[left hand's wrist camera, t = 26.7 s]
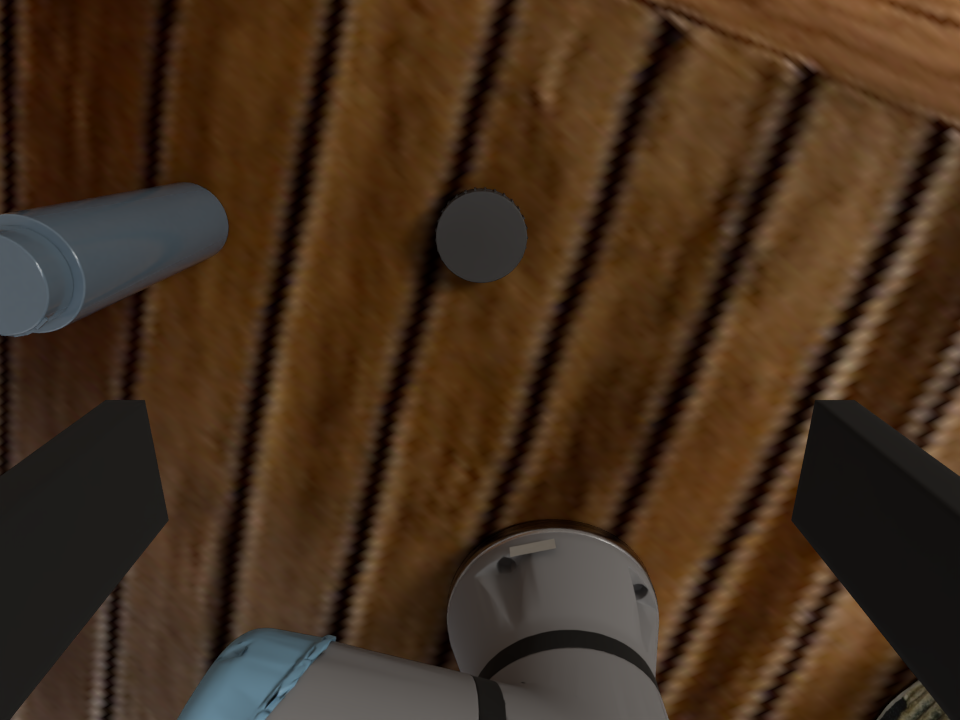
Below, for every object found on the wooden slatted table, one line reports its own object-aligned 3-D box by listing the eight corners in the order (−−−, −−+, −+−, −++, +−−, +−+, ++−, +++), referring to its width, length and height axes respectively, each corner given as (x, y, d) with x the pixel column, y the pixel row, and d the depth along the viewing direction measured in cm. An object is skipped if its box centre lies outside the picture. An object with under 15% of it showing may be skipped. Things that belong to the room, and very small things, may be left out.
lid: (515, 284, 39) (517, 291, 37) (429, 268, 38) (427, 274, 37) (534, 196, 37) (537, 199, 35) (444, 178, 37) (443, 181, 35)
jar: (134, 217, 37) (-100, 277, 22) (186, 165, 36) (-24, 191, 21) (193, 275, 39) (9, 370, 23) (244, 226, 38) (86, 293, 22)
